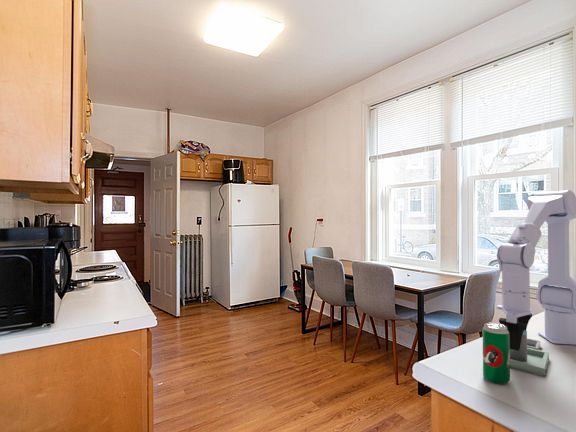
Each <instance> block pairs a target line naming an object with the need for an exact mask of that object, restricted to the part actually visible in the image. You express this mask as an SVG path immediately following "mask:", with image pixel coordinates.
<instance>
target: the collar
mask: <svg viewBox="0 0 576 432" xmlns="http://www.w3.org/2000/svg"><path fill="white" fill-rule="evenodd" d="M527 348H531V349H535V350H540V349H541V340H537V339H531V338H527Z"/></svg>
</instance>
